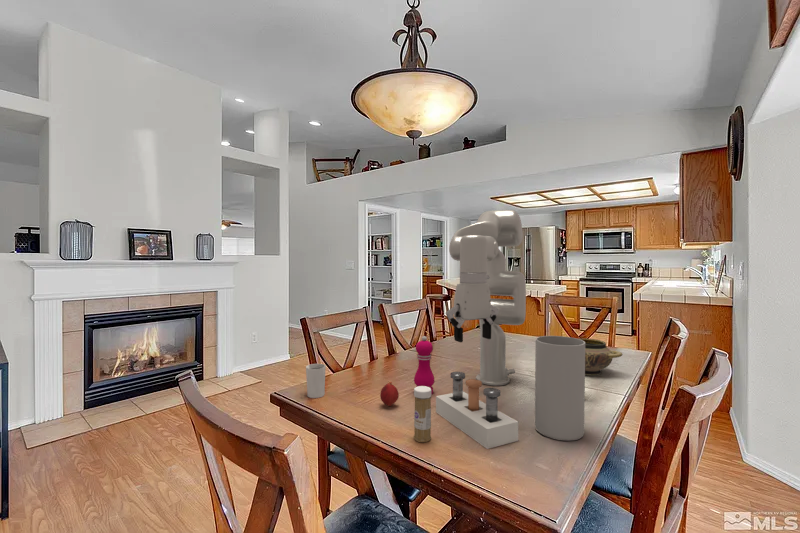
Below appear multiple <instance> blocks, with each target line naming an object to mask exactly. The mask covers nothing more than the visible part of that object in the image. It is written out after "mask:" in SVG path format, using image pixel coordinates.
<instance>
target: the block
mask: <svg viewBox="0 0 800 533" xmlns="http://www.w3.org/2000/svg"><path fill="white" fill-rule="evenodd" d="M435 413H436V414H438V415H439V416H441V417H442V419H445V420H446V421H448V422H449V423H450V424H451V425H453V426H454V427H456V428H457V429H458V430H461V431H462V432H463V433H464V434H466V435H467V436H468V437H470V438H471V439H472V440H474V441H475V442H477V443H478V444H480V445H481V446H482V447H484V449H487V450H488V449H492V448H496V447H499V446H503V445H504V446H505V445H507V444H511V443H514V442H518V441H519V421H518V420H516V419H515V418H512V417H510V416H509V415H507V414H505V413H504V412H502V411H499V410H498V421H497V422H492V423H490V422H488V421H487V420H486V402H484V401H482V400H480V399H479V410H477V411H473V412H472V411H470V410H469V409H468V393H467V392H465V390H463V400H462V401H457V402H456V401H454V400H453V392H451V393H446V394H440V395H435Z"/></svg>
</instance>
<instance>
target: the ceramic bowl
mask: <svg viewBox="0 0 800 533" xmlns="http://www.w3.org/2000/svg"><path fill="white" fill-rule="evenodd" d="M579 339H580V340H583V341H584V342H585V376H599V375H601V374H602V371H601V370H604V369H606V368H608V367H609V366H610V364H611V363H612V361H613V359H616V358H620V357H622V356H623V353H622V352H621V351H618V350H613V349H610V348H608V347H607V343H606V342H605V341H603V340H601V339H594V338H579Z"/></svg>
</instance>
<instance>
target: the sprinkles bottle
mask: <svg viewBox="0 0 800 533" xmlns="http://www.w3.org/2000/svg"><path fill="white" fill-rule="evenodd" d="M413 396H414V413H413V414H414V415H413V416H414V417H413V419H414V420H413V421H414V422H413V423H414V424H413V426H414V432H413V433H414V434H413V439H414V441H416V442H419V443H427V442H429V441H431V439H432V437H431V434H432V433H431V432H432V431H431V428H432V427H431V426H432V406H431V405H432V404H431V402H432V394H431V388H430V387H427V386H418V387H414V388H413Z"/></svg>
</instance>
